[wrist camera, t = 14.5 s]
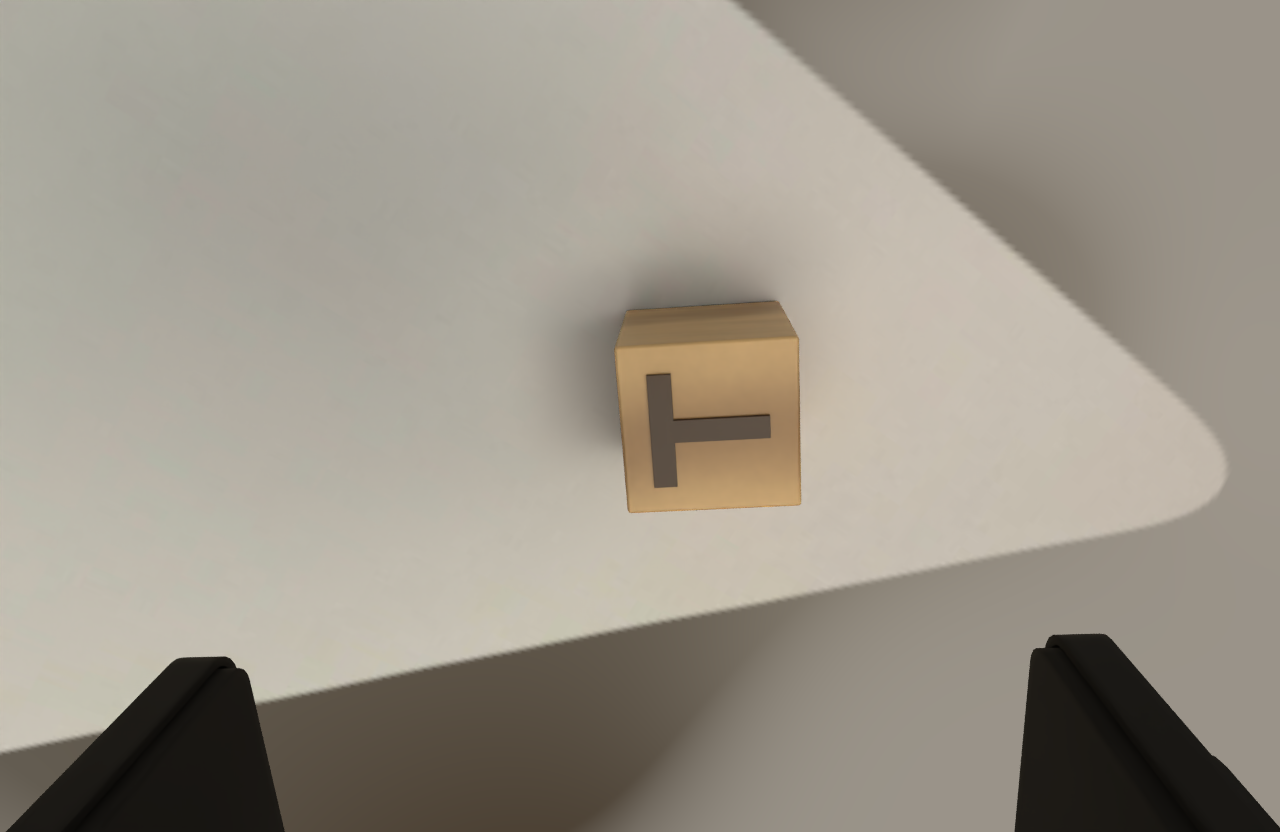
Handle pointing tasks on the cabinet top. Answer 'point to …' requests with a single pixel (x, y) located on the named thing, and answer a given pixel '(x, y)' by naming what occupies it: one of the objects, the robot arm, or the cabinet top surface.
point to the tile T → (709, 407)
